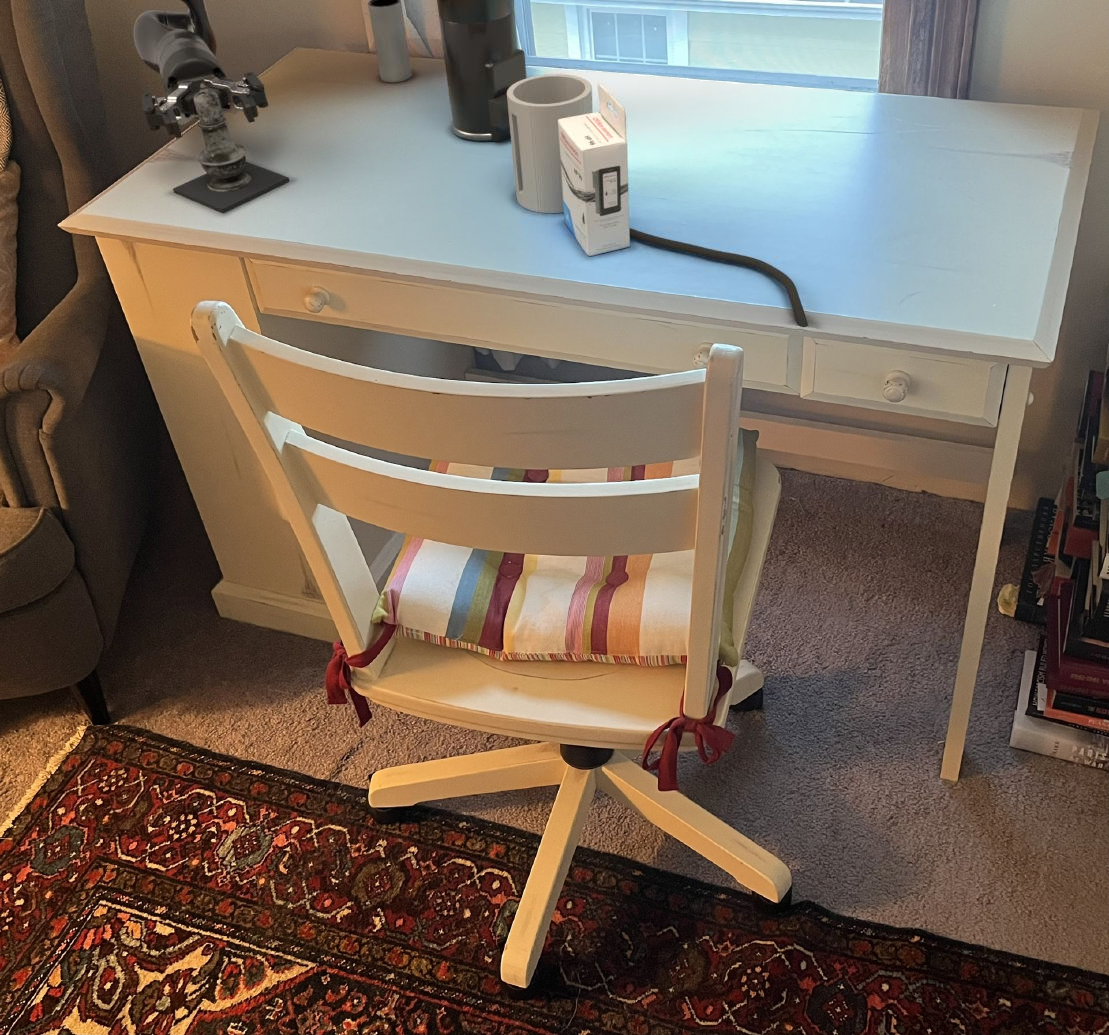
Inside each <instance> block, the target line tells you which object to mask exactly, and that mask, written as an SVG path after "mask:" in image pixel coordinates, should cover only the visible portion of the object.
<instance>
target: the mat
mask: <svg viewBox="0 0 1109 1035" xmlns="http://www.w3.org/2000/svg"><path fill="white" fill-rule="evenodd" d="M242 172H244V173H247V174H249V175H250V176H251V178H252V179H251V182H250V183H249V184H248V185H247V186H245V187H243V188H241V189H238V190H235V191H231V192H215V191H211V190H210V189H209V188H208V182H209V181H210V180H211V179H212V178H213V177H212V176H210V175H209V174H207V173H206V172H205V173H204V174H202V175H199V176H197V177H195V178H193V179H190V180H189V181H186V182H184V183H182V184H180V185H177V186H176V187H173V188H172V191H173V193H174V194H176V195H179V196H182V197H184V198H186V199H189V200H191V201H193V202H196V203H198V204H200V205H203V206H206V207H208V208H209V209H212V210H214V211H217V212H220V213H222V214H225V213H226V212H228V211H230V210H232V209H235V208H237V207H239V206H242V205H243V204H246V203H247V202H249V201H251V200H253V199H255V198H258V197H259V196H261V195H264V194H267V193H268V192H271V191H272V190H274V189H276V188H279V187H280V186H283V185H285V184H286V183H288V182H290V178H289V176H286V175H283V174H281V173H277V172H275V171H272V170H269V169H268V168H265V167H262V166H259V165H257V164H254V163H251V162H250V161H249V162H248V161H246V162H245V167H244V168H243V170H242Z"/></svg>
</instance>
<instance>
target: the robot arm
mask: <svg viewBox="0 0 1109 1035" xmlns="http://www.w3.org/2000/svg"><path fill="white" fill-rule="evenodd" d="M180 1H181V2H182V3H184V5H185V6H186V8H187V10H186V11H187V12H183V11H182V12H181V11H168V10H158V9H157V10H151V9H150V10H147V11H146V10H145V11H144V12H142V13H141V14H139V16H138V17H137V18H136V20H135V22H134V25H133V40H134V45H135V48H136V51H137V54H138V55H139V57H140V59H141V60H142V61H143V63H144V64H145V65H146V66H147V67H148V68H149V69H151V70H153V71H154V72H155V73H157V74H159V75H160V78H161V79H160V80H161V81H162V86H163V89H164V90H165V93H164V96H162V97H157V96H156V95H152V93H151V92H144V93H143V94H141V95H140V97H141V104H142V109H143V113H144V116H145V119H146V122H147V125H148V128H149V131H151V132H157V131H158V130H160V129H161V127H165V129H166V132H167V134H168V135H169V136H174V137H175V139H180V138H183V135H182V132H181V128H180V125H187V124H188V123H189V122H190V121H192V120H193V119H194V120H195V119H196V120H199V117H198V114H197V110H196V107H195V103H194V96H195V95H196V94H197V93H198V92H199V91H200V90H201V88H200V85H201V83H203V84H204V85H205V86H206V87H205V89H208V90H211V91H214V92H215V93H216V94H217V95H218V97H219V101H220V104H221V108H222V111H223V113H226V114H231V115H232V114H233V115H235V114H237V113H239V112H241V113H243V115H244V116H245V119H246V120H247V122H248V124H251V123H254V122H256V120H255V118H258V117H259V111H258V108H261V109H264V108H267V107H269V102H268V100H267V94H266V90H265V85H264V84H263V82H262V81H261V80H260V79H259V78H258V76H257V75H256V74H255V72H253V71H248V72H245V73H244V74H243V77H242V80H238V81H234V80H233V79H231V78H228V77H227V75H226V73H225V71H224V69H223V67H222V66H221V64H220V62H219V61H218V60H219V59H218V58H217V57H216V55H217V40H216V36H215V32H214V29H213V26H212V22H211V20H210V15H209V12H208V8H207V6H206V1H205V0H180ZM436 3H437V4H436V5H437V11H438V12H437V13H438V22H439V27H440V29H439V30H440V35H441V43H442V51H443V59H444V66H445V74H446V82H447V90H448V97H449V98H448V99H449V106H450V113H451V120H452V121H451V125H452V126H451V127H452V131H453V133H454V135H456V136H458V137H459V138H461V139H465V140H469V141H479V142H483V141H493V142H497V143H499V142H502V141H504V140H506V139H508V138H509V137H510V138H511V133H510V123H509V112H508V101H507V90H508V89H509V88H510V86H512V85H513V84H515V83H516V82H518V81H521V80H523V79H526V78H528V77H527V67H526V66H527V65H526V54H525V53H526V52H525V51H524V50H523V49H521V48H519V45H518V44H519V43H518V32H517V20H516V19H517V18H516V8H515V0H436ZM629 235H630V238H631V239H633V240H637V241H640V242H643V243H645V244H649V245H653V246H656V247H660V248H664V249H669V250H673V251H677V252H683V253H687V254H691V255H694V256H699V257H703V258H705V259H711V260H715V261H720V262H721V261H722V262H726V263H732V264H736V265H742V266H746V267H749V268H753V269H756V270H758V271H760V272H763V273H765V274H766V275H768V276H769V277H772V278H773V279H775V280H776V281H778V282H779V283H780V284H781V285H782V286H783V288H784V290H785V292H786V293H787V296H788V300H789V302H790V306H791V309H792V311H793V314H794V317H795V320H796V324H797V326H798V327H800V328H807V327H808V326H809V322H808V319H807V316H806V312H805V311H804V307H803V304H802V301H801V298H800V295H799V292H798V290H797V287H796V285H795V283H794V282H793V279H792V278H790V277H789V276H788V275H787V274H786V273H785V272H783V271H781V270H780V269H779V268H777V267H775V266H773V265H772V264H770V263H767V262H765V261H763V260H761V259H758V258H754V257H752V256H748V255H743V254H738V253H733V252H727V251H722V250H717V249H713V248H708V247H704V246H700V245H695V244H691V243H687V242H684V241H683V242H682V241H678V240H675V239H669V238H665V237H661V236H656V235H654V234H649V233H646V232H644V231H640V230H636V229H634V228H631V227H629Z"/></svg>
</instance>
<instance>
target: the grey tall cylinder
mask: <svg viewBox="0 0 1109 1035" xmlns="http://www.w3.org/2000/svg"><path fill="white" fill-rule="evenodd" d="M367 6H368V7H367V8H368V12H369V19H370V25H371V30H372V36H373V43H374V48H375V54H376V60H377V66H378V71H379V75H380V80H381V81H382V82H384V83H401V82H404V81H407V80H408V79H410V78H411V77H412V75H413V73H412V65H411V58H410V52H409V44H408V38H407V31H406V25H405V18H404V12H403V11H404V10H403V5H402V0H369V1H368V2H367Z"/></svg>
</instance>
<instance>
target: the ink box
mask: <svg viewBox="0 0 1109 1035" xmlns="http://www.w3.org/2000/svg"><path fill="white" fill-rule="evenodd" d="M597 93H598V106H599V111H596V112H593V113H589V114H584V115H579V116H572V117H567V118H562V119H559V120H558V129H559V143H560V157H561V172H562V188H563V204H564V212H563V217H564V224H565V225H566V226H567V228H568V229H569V231H570V232H571V234H572V235H573V236H574V238H575V240H576V241H577V242H578V244H579V245H580V247H581V248H582V250H583V251H584V253H585V254H586V255H587V256H588V257H592V256H596V255H600V254H605V253H608V252H613V251H617V250H621V249H625V248H629V247H631V239H630V235H629V228H630V202H629V199H630V197H629V164H628V163H629V161H628V159H629V158H628V140H627V114H626V109H625V108H624V107H623V106H622V104H620V103H619V101H618V100H617V99H616V98H615V97H614V96H613V94H611V92H609V91H608V90H607V89H606V88H605V87H604V86H603V85H602V84H601V83H600V82H598V83H597ZM610 105H611V107H612V109H613V111H614V112H615V114H614V113H613V112H612V111H611V110H610V108H609V106H610Z"/></svg>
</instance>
